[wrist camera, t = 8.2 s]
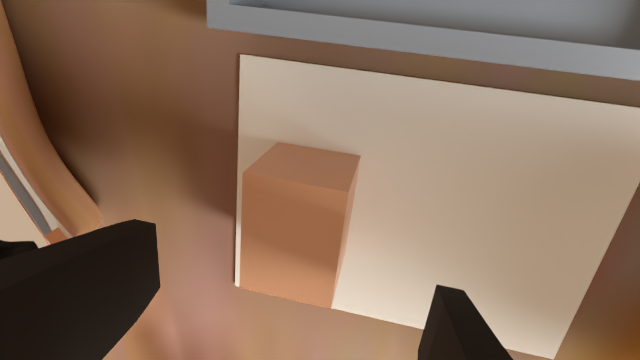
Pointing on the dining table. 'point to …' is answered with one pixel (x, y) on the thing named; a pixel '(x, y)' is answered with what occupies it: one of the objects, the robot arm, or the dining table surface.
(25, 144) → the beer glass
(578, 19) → the tub
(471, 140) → the lid
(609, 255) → the dining table surface
